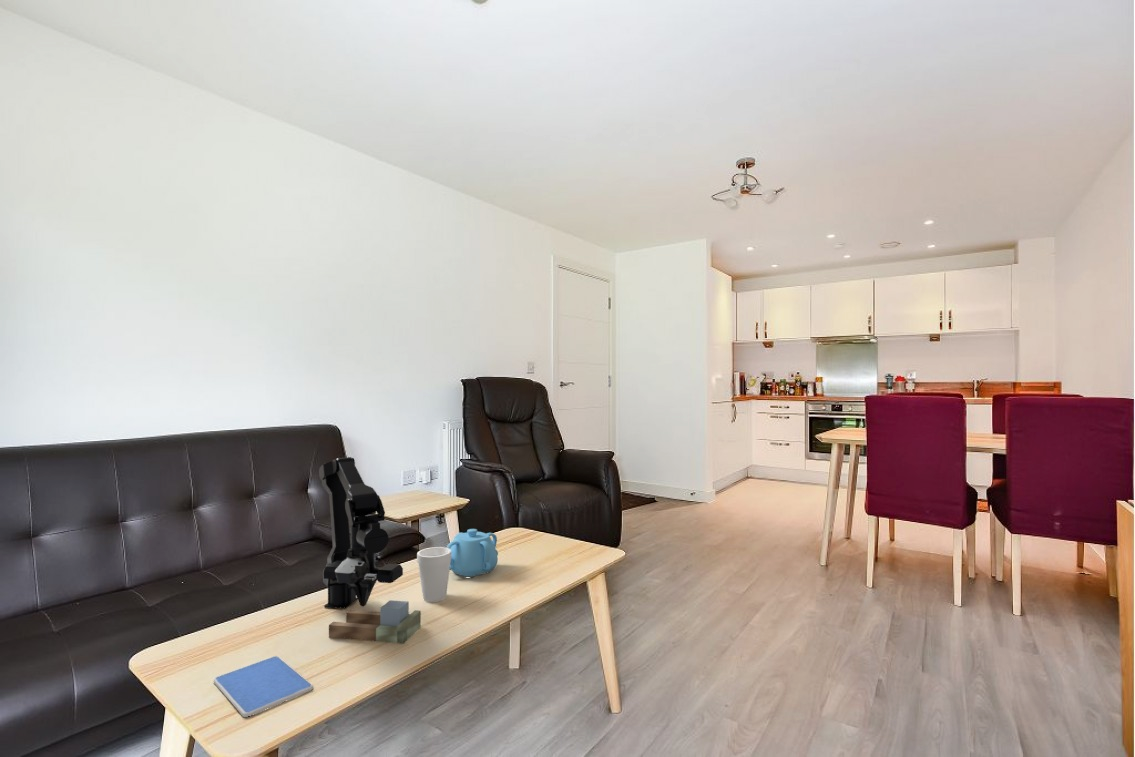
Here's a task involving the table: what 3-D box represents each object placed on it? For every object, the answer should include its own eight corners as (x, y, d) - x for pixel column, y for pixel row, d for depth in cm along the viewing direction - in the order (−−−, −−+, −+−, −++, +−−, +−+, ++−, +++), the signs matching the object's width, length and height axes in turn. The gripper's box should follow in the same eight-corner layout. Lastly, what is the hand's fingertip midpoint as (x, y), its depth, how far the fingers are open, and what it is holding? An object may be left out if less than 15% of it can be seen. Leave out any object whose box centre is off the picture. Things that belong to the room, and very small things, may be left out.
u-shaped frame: (328, 637, 126) (328, 620, 126) (350, 621, 135) (350, 605, 135) (403, 643, 123) (403, 626, 123) (420, 626, 131) (420, 610, 131)
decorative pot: (438, 579, 164) (438, 536, 164) (457, 562, 180) (457, 522, 180) (488, 582, 161) (488, 537, 161) (503, 564, 177) (503, 524, 177)
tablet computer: (211, 683, 108) (211, 677, 108) (277, 659, 117) (277, 653, 117) (244, 722, 95) (244, 714, 95) (315, 691, 104) (315, 684, 105)
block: (380, 637, 126) (380, 607, 126) (390, 628, 130) (389, 600, 130) (399, 638, 125) (399, 609, 125) (408, 630, 129) (408, 601, 130)
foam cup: (415, 594, 152) (415, 549, 152) (447, 589, 155) (447, 545, 156) (420, 607, 143) (419, 559, 143) (454, 601, 147) (453, 554, 147)
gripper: (307, 551, 124) (308, 617, 124) (380, 555, 121) (380, 623, 121) (337, 537, 135) (337, 598, 135) (403, 541, 132) (404, 603, 132)
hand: (363, 606), depth 130 cm, fingers closed
